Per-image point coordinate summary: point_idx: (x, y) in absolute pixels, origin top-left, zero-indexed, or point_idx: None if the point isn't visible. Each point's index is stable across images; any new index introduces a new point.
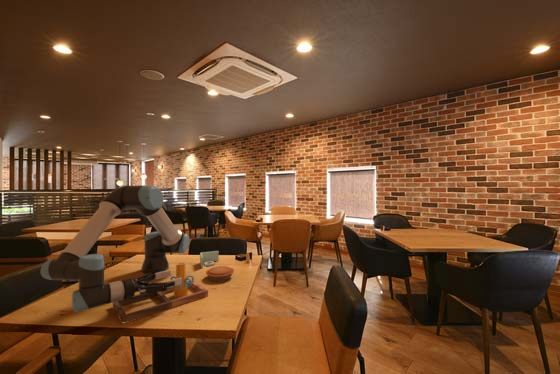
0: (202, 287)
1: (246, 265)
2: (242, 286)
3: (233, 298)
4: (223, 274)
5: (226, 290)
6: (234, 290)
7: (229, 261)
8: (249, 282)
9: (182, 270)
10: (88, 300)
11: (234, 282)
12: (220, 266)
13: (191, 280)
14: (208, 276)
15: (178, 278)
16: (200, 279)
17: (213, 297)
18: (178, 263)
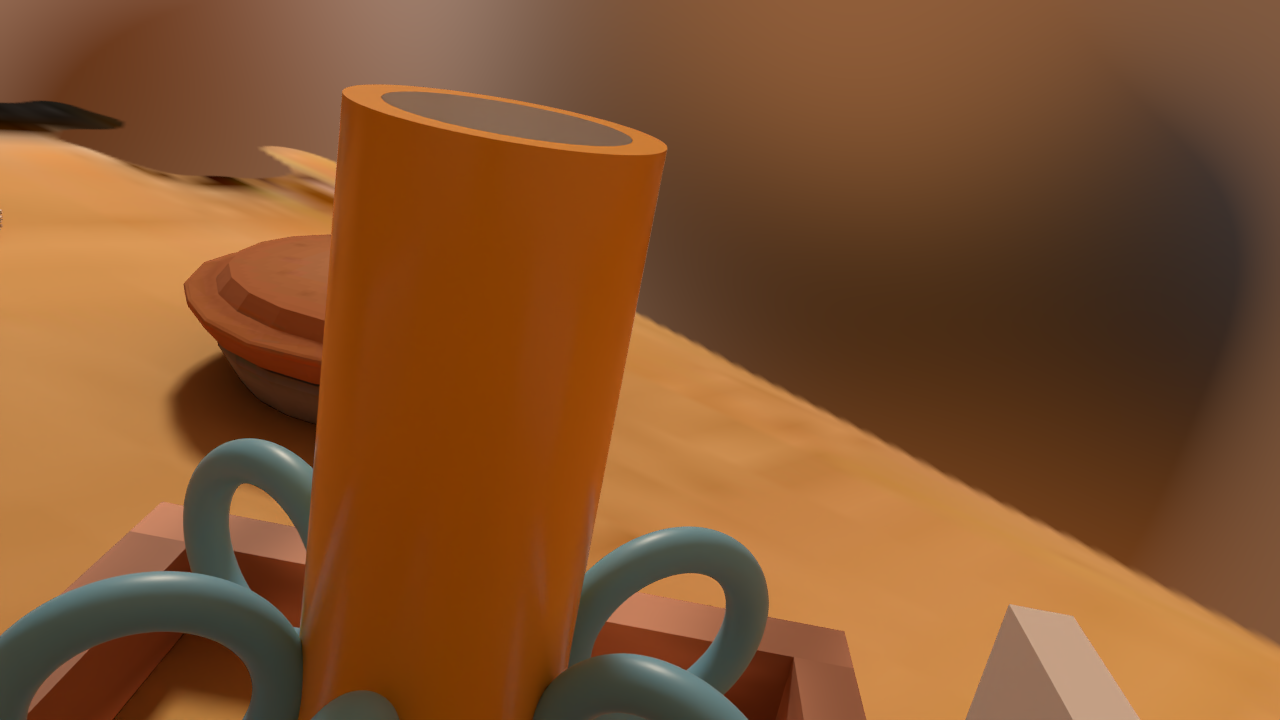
0: (652, 601)
1: None
2: (813, 442)
3: (1094, 623)
4: None
5: (804, 534)
6: (864, 510)
7: (126, 194)
8: (764, 388)
9: (627, 344)
10: None
11: (652, 411)
12: (305, 239)
13: (179, 511)
14: (291, 385)
15: (1092, 688)
16: (151, 448)
17: (929, 705)
18: (384, 101)
